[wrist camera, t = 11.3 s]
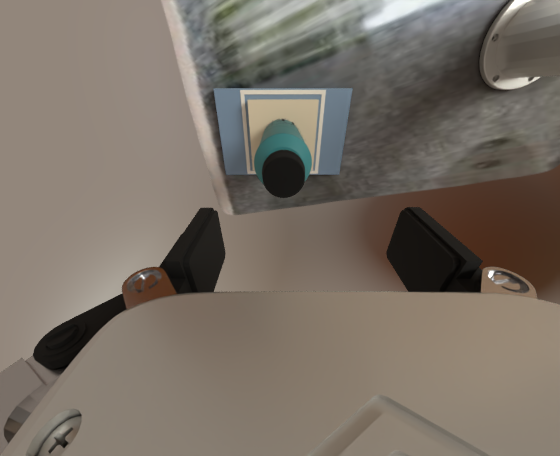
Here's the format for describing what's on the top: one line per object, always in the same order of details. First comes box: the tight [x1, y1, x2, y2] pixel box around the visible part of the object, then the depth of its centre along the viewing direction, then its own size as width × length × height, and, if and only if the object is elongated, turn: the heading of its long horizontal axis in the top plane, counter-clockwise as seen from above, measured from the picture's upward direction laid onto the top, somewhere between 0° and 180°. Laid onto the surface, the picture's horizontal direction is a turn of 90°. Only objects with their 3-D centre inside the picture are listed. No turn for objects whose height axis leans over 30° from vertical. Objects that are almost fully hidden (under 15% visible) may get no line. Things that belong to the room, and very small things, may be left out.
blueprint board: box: [213, 88, 353, 175], centre depth 37 cm, size 22×14×4 cm, turn 90°
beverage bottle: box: [254, 118, 312, 198], centre depth 27 cm, size 6×7×20 cm
